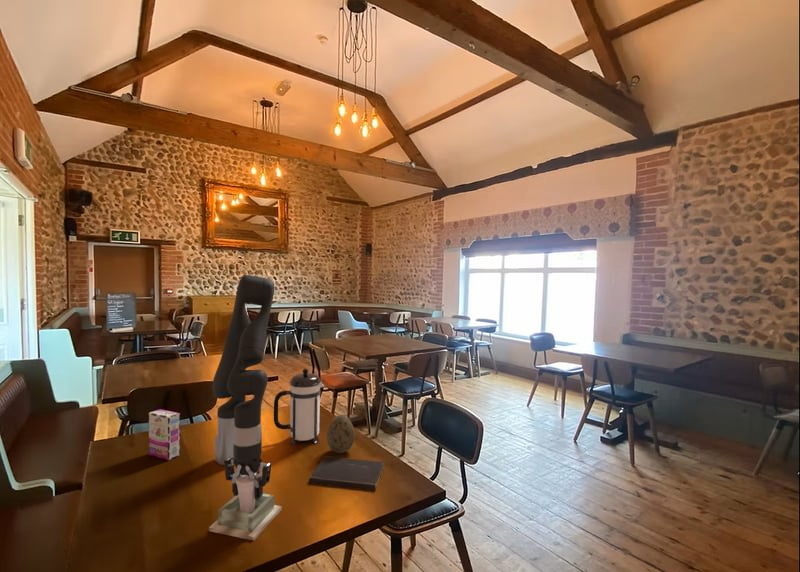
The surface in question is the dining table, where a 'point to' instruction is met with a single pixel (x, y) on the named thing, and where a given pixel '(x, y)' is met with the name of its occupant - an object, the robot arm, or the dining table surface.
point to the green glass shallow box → (245, 518)
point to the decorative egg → (340, 434)
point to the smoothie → (246, 493)
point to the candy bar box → (164, 434)
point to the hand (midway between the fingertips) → (247, 496)
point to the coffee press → (302, 407)
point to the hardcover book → (347, 473)
